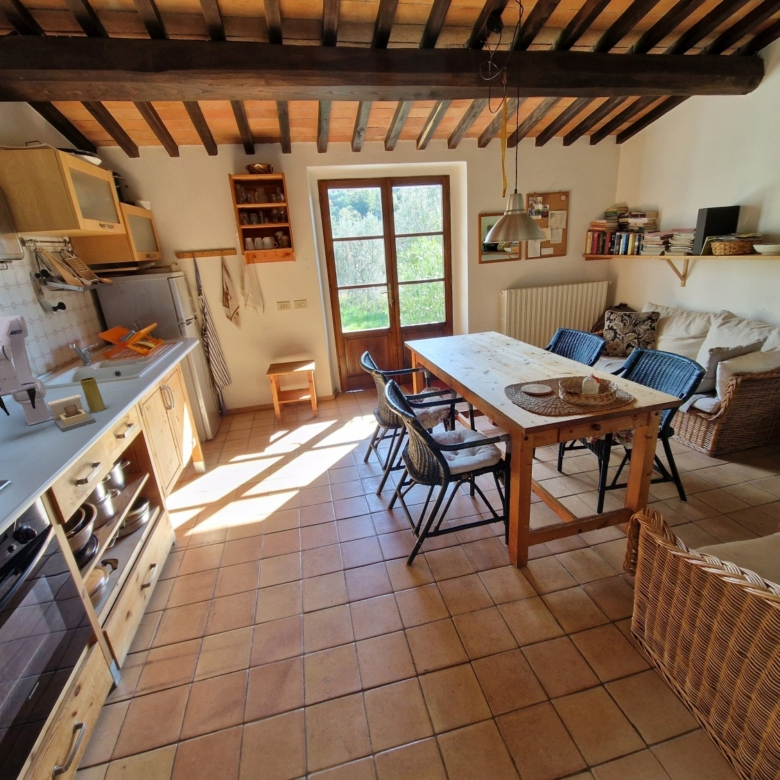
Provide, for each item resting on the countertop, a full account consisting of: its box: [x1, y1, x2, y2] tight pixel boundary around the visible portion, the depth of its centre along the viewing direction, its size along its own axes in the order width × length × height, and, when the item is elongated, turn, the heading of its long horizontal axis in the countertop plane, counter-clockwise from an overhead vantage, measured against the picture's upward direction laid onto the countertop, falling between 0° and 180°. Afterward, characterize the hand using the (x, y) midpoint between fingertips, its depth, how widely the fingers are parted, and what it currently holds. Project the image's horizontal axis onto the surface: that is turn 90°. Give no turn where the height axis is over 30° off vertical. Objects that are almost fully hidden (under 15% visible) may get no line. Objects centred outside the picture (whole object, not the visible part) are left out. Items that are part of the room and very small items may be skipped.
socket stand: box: [46, 393, 97, 433], centre depth 166 cm, size 16×11×9 cm
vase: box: [79, 376, 107, 413], centre depth 177 cm, size 6×6×14 cm
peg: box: [64, 404, 79, 418], centre depth 165 cm, size 4×4×6 cm
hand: (21, 411), depth 156 cm, fingers open, 7 cm apart
